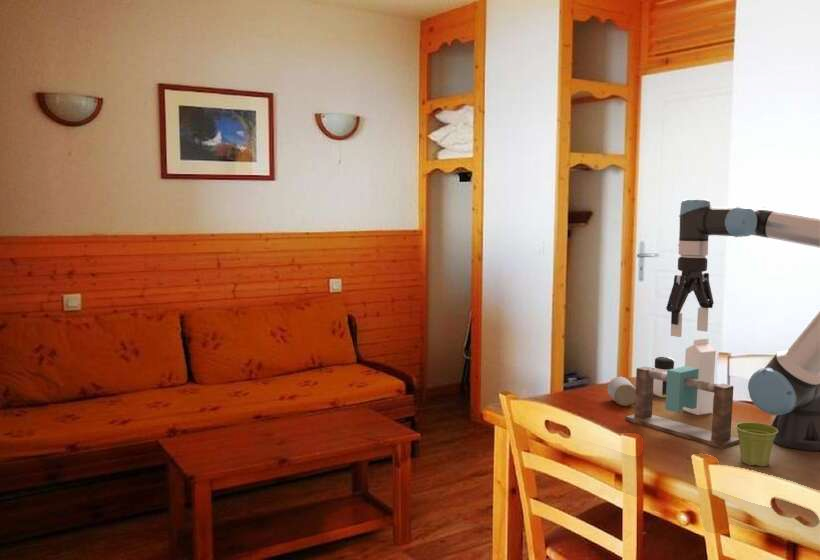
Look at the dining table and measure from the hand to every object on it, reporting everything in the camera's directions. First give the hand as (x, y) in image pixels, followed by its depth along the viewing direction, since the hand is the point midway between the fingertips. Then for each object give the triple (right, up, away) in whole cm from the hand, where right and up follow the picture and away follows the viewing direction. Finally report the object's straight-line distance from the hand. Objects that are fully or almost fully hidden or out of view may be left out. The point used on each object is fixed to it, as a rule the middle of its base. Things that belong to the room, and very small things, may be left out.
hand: (689, 333), depth 206 cm
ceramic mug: (-9, -24, +27) cm, 37 cm away
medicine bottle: (+6, -23, +38) cm, 45 cm away
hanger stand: (-3, -27, 0) cm, 27 cm away
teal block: (-3, -21, -1) cm, 21 cm away
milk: (+9, -25, +19) cm, 33 cm away
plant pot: (+7, -30, -24) cm, 39 cm away
